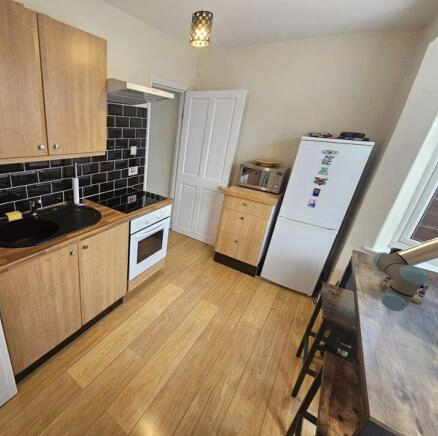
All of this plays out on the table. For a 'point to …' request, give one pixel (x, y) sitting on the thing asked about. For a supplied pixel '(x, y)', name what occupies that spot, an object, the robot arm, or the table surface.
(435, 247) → the robot arm
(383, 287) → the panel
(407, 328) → the table surface
